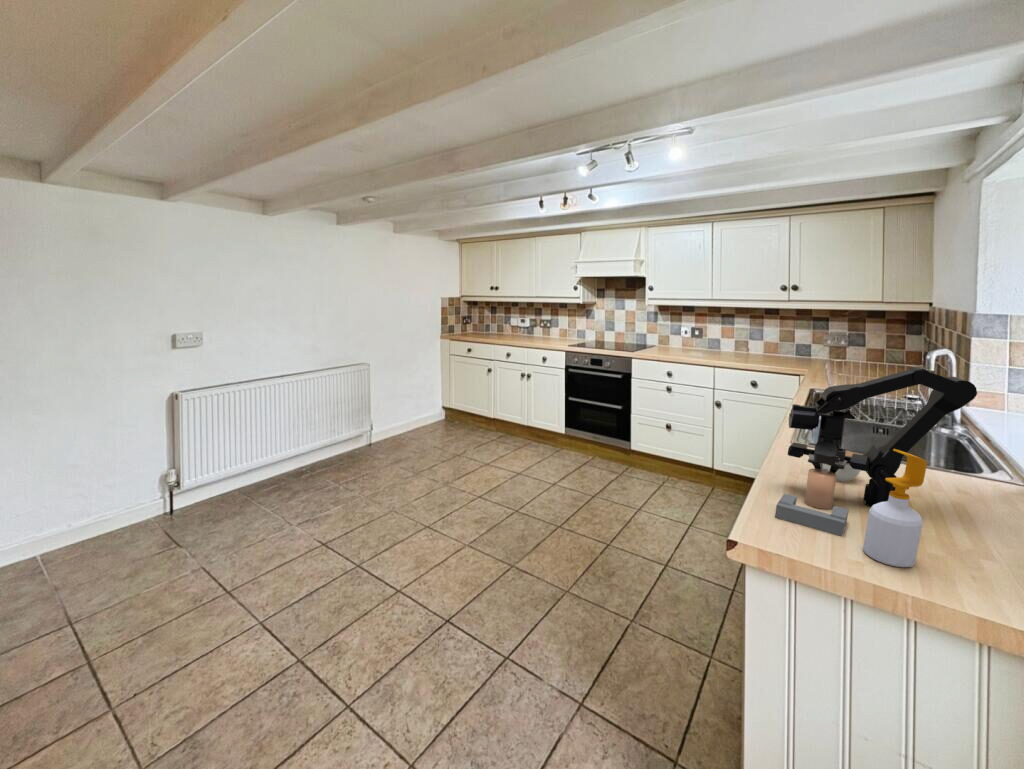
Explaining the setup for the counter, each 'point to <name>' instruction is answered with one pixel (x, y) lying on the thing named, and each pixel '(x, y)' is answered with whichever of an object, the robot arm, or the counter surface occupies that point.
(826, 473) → the tan handled cup
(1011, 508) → the counter surface
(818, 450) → the robot arm
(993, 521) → the counter surface
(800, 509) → the cradle
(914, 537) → the soap bottle
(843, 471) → the lidded jar
